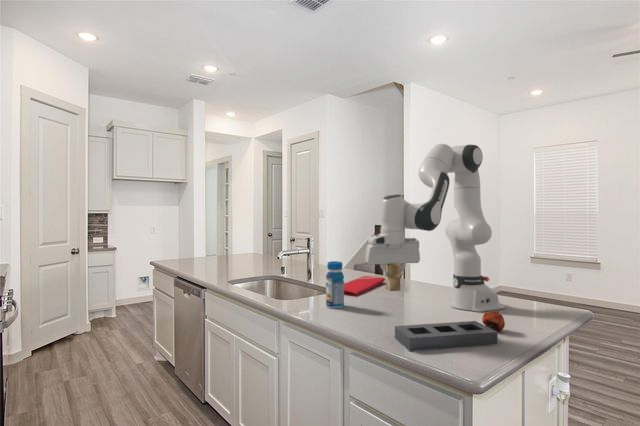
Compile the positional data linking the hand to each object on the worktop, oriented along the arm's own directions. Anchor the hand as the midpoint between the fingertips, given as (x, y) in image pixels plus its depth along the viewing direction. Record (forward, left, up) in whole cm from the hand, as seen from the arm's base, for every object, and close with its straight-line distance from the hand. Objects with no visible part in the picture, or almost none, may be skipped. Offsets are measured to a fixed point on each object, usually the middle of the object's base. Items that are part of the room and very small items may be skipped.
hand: (393, 275), depth 135 cm
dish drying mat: (-7, -70, -20) cm, 73 cm away
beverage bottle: (+15, -33, -19) cm, 41 cm away
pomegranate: (-33, +11, -19) cm, 40 cm away
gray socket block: (-11, +17, -19) cm, 28 cm away
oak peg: (0, 0, -5) cm, 5 cm away
